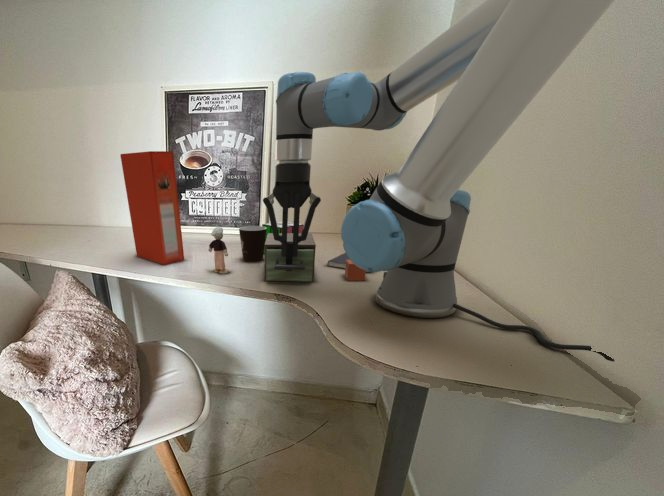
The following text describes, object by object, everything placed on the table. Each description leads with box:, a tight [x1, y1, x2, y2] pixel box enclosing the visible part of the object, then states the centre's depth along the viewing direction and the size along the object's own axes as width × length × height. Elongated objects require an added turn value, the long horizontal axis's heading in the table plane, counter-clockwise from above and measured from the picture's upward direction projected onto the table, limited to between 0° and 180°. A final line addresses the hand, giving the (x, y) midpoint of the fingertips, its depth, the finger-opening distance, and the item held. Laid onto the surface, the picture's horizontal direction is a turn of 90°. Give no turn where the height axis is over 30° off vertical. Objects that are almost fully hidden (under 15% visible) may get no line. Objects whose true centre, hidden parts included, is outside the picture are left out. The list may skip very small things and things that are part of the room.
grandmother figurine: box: [208, 226, 229, 275], centre depth 94 cm, size 8×4×13 cm, turn 56°
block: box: [344, 260, 367, 282], centre depth 87 cm, size 4×4×4 cm
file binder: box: [119, 150, 185, 266], centre depth 105 cm, size 8×17×32 cm, turn 44°
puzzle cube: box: [261, 221, 304, 255], centre depth 112 cm, size 10×10×10 cm
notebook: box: [327, 252, 372, 274], centre depth 103 cm, size 13×2×21 cm
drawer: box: [266, 248, 314, 282], centre depth 87 cm, size 20×11×8 cm, turn 173°
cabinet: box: [264, 232, 317, 283], centre depth 92 cm, size 16×13×10 cm
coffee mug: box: [238, 225, 267, 263], centre depth 107 cm, size 12×9×10 cm
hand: (288, 269), depth 81 cm, fingers closed
